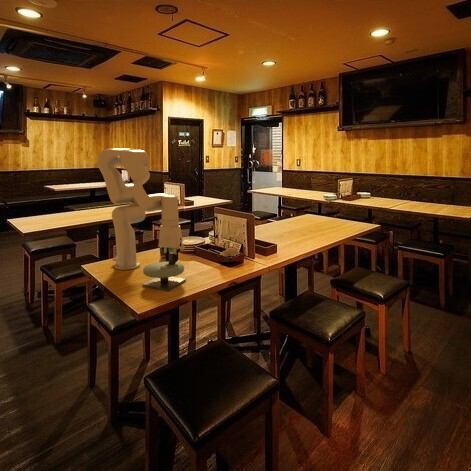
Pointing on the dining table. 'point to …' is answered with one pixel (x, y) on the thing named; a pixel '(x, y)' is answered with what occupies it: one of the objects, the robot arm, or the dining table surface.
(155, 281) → the wheel stand
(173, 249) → the food container
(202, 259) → the dining table surface
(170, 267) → the handwheel
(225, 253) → the decorative item
